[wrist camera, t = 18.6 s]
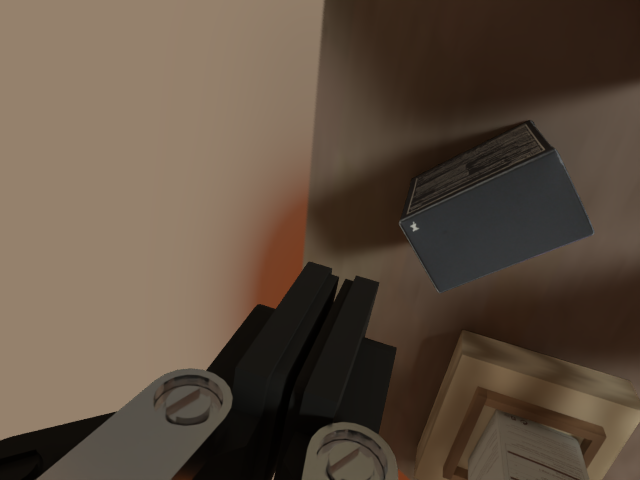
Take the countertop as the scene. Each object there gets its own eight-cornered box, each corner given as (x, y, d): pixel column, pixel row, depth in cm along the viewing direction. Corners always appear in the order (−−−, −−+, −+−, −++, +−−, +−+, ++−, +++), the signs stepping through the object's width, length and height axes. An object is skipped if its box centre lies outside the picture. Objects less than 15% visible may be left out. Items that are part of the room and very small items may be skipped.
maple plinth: (630, 380, 42) (650, 423, 38) (559, 497, 49) (569, 545, 45) (462, 329, 45) (462, 362, 40) (417, 447, 52) (412, 487, 47)
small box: (443, 242, 42) (437, 300, 33) (408, 178, 41) (392, 220, 32) (566, 189, 38) (599, 239, 29) (531, 116, 36) (555, 143, 27)
